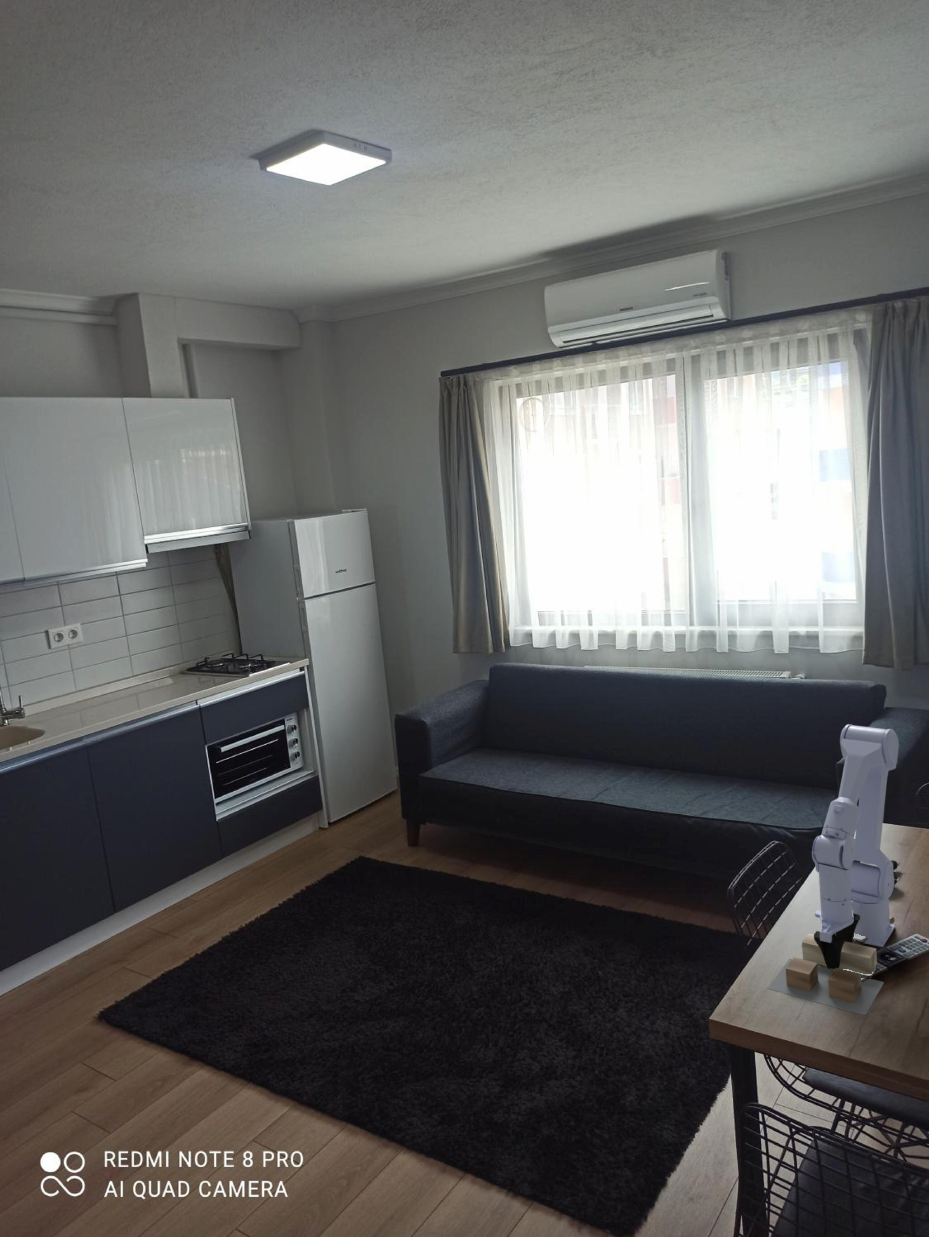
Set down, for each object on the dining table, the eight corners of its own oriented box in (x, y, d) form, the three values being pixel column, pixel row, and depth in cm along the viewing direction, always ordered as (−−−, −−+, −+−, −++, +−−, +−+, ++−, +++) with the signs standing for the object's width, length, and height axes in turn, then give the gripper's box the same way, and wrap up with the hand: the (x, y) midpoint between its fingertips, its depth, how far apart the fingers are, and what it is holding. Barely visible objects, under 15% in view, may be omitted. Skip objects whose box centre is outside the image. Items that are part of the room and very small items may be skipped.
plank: (810, 953, 188) (808, 933, 187) (877, 969, 180) (876, 948, 179) (803, 962, 185) (802, 942, 184) (871, 979, 177) (870, 958, 176)
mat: (789, 960, 186) (789, 958, 186) (884, 983, 175) (883, 982, 174) (767, 989, 177) (767, 988, 177) (865, 1016, 165) (865, 1015, 165)
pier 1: (794, 973, 181) (793, 957, 180) (818, 979, 178) (817, 962, 177) (786, 985, 177) (785, 968, 177) (810, 991, 174) (809, 974, 174)
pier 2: (836, 984, 175) (835, 967, 175) (861, 990, 173) (860, 973, 172) (829, 996, 172) (828, 979, 172) (854, 1003, 169) (853, 985, 169)
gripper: (826, 875, 188) (830, 937, 190) (802, 906, 177) (806, 971, 179) (862, 882, 183) (865, 945, 185) (840, 914, 172) (843, 980, 174)
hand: (839, 958), depth 182 cm, fingers open, 7 cm apart
